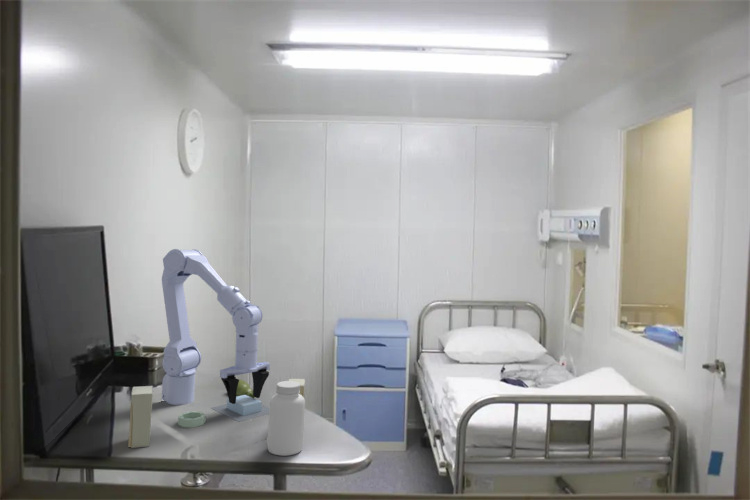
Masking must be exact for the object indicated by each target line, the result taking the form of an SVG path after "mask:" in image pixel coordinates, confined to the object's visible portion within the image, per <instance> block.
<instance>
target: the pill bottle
mask: <svg viewBox="0 0 750 500" xmlns="http://www.w3.org/2000/svg"><path fill="white" fill-rule="evenodd" d="M275 389H276V391H275V392H276V394H274V395H273V396H272V397H271V398H270V401H269V408H270V409H269V414H268V430H267V431H268V432H267V451H268V452H269V453H270V454H272V455H275V456H280V457H281V456H283V457H285V456H286V457H287V456H293V455H296V454H298V453H301V451H302V449H303V446H304V444H303V443H304V432H305V429H304V428H305V426H304V425H305V412H306V411H305V409H306V400H305V397H303V396H302V395H300V394H299V393H300V384H299V383H298V382H295V381H288V380H284V381H279V382H277V384H276V388H275Z"/></svg>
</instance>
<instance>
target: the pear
mask: <svg viewBox="0 0 750 500" xmlns="http://www.w3.org/2000/svg"><path fill="white" fill-rule="evenodd" d="M242 395H247V396H249V397H252V398H254V399H256V397H254V396H253V388H251V386H250V384H249V383H248V382H247V381H245V380H242V379H239V383H238V386H237V392H236V397H237V396H242Z"/></svg>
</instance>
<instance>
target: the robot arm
mask: <svg viewBox="0 0 750 500" xmlns="http://www.w3.org/2000/svg"><path fill="white" fill-rule="evenodd" d="M162 263H163V265H162V266H163V272H162V276H161V288H162V292H163V300H164V308H165V315H166V323H167V330H168V331H167V332H168V338H169V341H168V343H167V344H166V346H165V347H164V349H163V358H162V367H163V368H162V369H163V370H164V372H165V374H164V376H163V378H162V382H161V383H162V385H161V400H162V399H163V400H164V401H166V403H167V404H169V405H172V406H173V405H174V406H181V405H187V404H191V403H193V402H194V401H195V392H196V390H195V387H196V372H197V368H198V367H199V366H200V364H201V362H202V354H201V352H200V350H199V349H198V345H197V342H196V341H195V340H194V339H193V338H192V337H191V334H190V333H191V332H190V324H189V316H188V311H187V303H186V296H185V288H184V283H185V282H186V280H187V279H188V278H189V277H190V276H192V275H196V276H198V277H199V278H200V279H201V280H202V281H203V282H205V283H206V285H208V287H210V288H211V289H212V290H213V291H214V292H215V293H216V295H217V297H216V298H217V299H216V300H217V302H219V304H220V305H221V306H222V307H223V308H224V309H225V310H226V311H227V312H228V313H229V314H230V315H231V316H232V318H231V319H232V322H233V325H234V326H235V334H236V336H235V337H236V338H235V359H234V361H235V362H234V365H233V366H230V367H227V368H223V369H220V370H219V378H220V380H221V382H222V383H223V385H224V387H225V389H226V394H227V397H228V398H229V402H230V403H232V404H235V403H236V397H237V396H236V392H237V386H238V383H239V380H240V379H238V378H237V377H236V376H240V375H244V374H250V373H251V377H252V384H253V386H252V390H253V396H254V397H255V399H259V398H260V397H261V394H262V390H263V387H264V385H265V383H266V381H267V379H268V378H269V376H270V372H269V371H270V370H271V363H270V362H268V361H262V362H258V343H259V342H258V341H259V324H260V323H261V322H262V320H263V312H262V310H261V308H260V306H259V305H256V304H251V301H250V300H247V299H246V297H244V296H243V294H242V293H241V292H240V291H241V290H240V288H239V287H237V286H234V285H228V284H227V283H226V282H225V281H224V280H223V279H222V277H221V276H220V275H219V274H218V273H217V271H216V270H215V269H214V268H213V267H212V265H211V264H210V262H209V261H208V258H207V257H206V256H205V255H204V254H203V253H202V252H201V251H200V250H199V249H193V248H192V249H178V248H174V249H171V250H169V251H168V253H166V255H164V257H163V258H162ZM228 398H227V399H228Z"/></svg>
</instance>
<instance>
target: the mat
mask: <svg viewBox="0 0 750 500" xmlns="http://www.w3.org/2000/svg"><path fill="white" fill-rule="evenodd" d="M211 409H212V410H213V411H215V412H218V413H220V414H221V415H224V416H226V417H228V418H231V419H232V420H233V421H237V422H238V423H240V422H244V421H247V420H251V419H255V418H258V417H259V418H260V417H264V416H265V415H269V409H270V407H268V406H266V405H263V404H262V405H261V411H260V412H256V413H252V414H248V415H244V416H243V415H241V414H238V413H236V412H234V411H232V410H230V409H228V408H227V403H226V404H222V405H217V406H212V407H210V410H211Z"/></svg>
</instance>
